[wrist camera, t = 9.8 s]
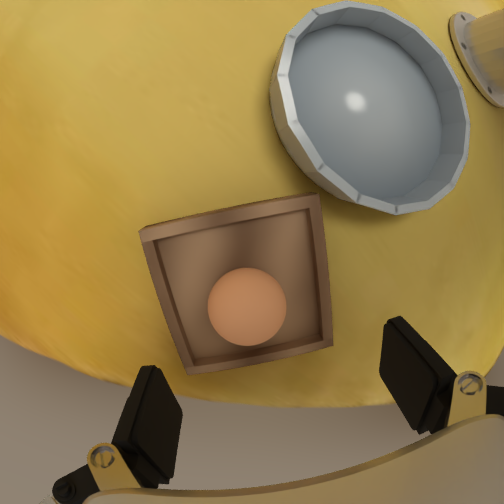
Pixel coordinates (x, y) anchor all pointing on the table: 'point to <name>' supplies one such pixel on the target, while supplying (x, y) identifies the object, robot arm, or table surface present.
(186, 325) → the tray
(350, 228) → the table surface
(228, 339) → the ball
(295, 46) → the bowl
